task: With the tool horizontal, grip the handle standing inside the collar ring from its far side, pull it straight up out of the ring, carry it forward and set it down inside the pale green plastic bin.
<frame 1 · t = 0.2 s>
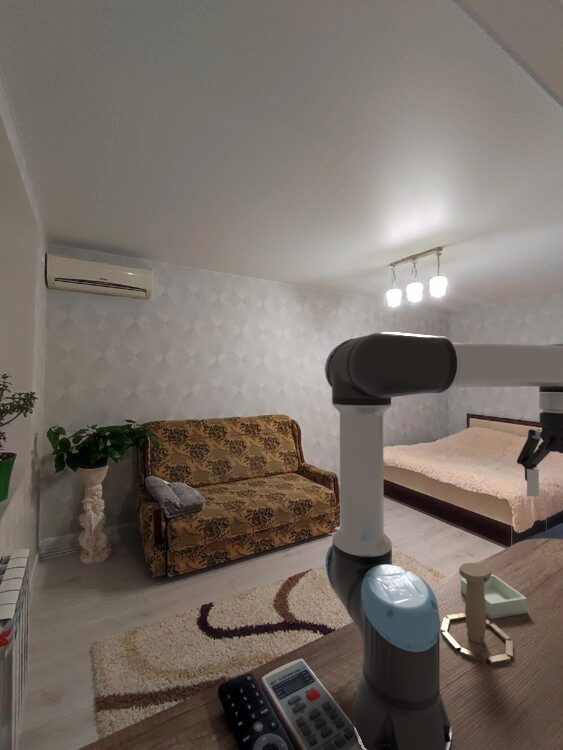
hand: (561, 505, 77), 27 cm above the table, tool pointing down, fingers open, 13 cm apart
collar ring: (475, 638, 73), on the table
handle: (475, 639, 73), resting in collar ring
bin: (492, 602, 85), on the table
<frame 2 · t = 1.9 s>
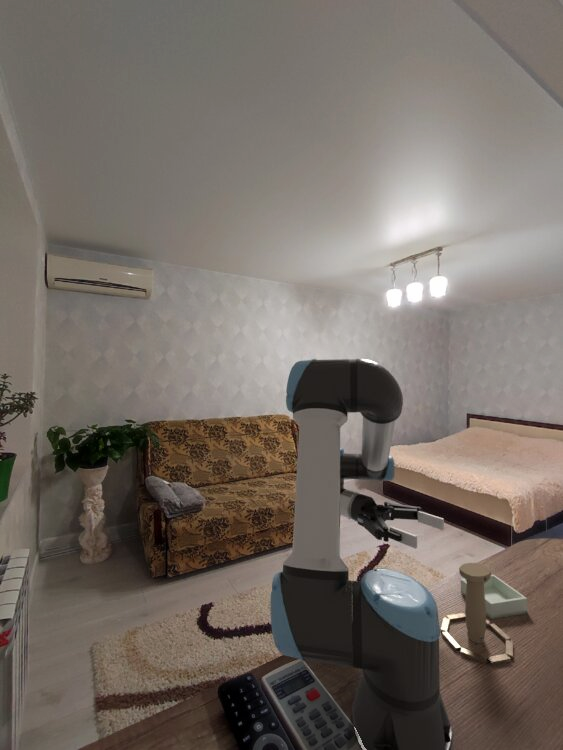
hand: (430, 532, 80), 20 cm above the table, tool horizontal, fingers open, 13 cm apart
nothing on the table moved.
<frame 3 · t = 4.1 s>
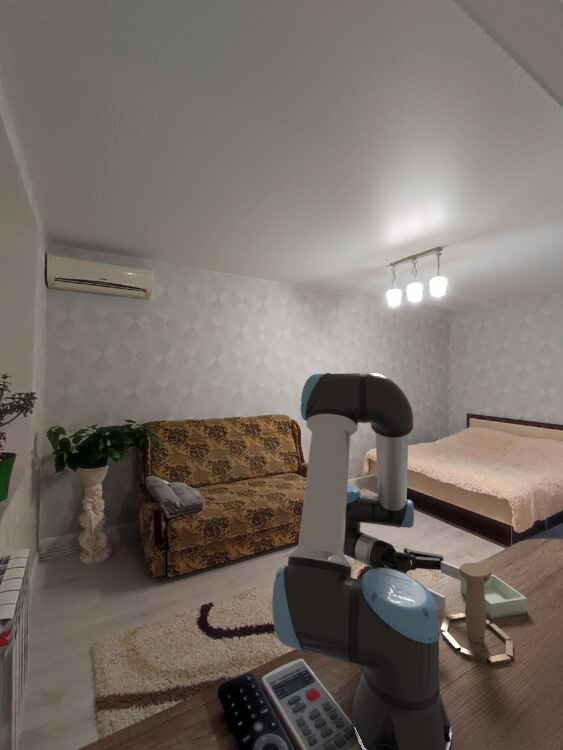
hand: (457, 589, 76), 8 cm above the table, tool horizontal, fingers open, 13 cm apart
nothing on the table moved.
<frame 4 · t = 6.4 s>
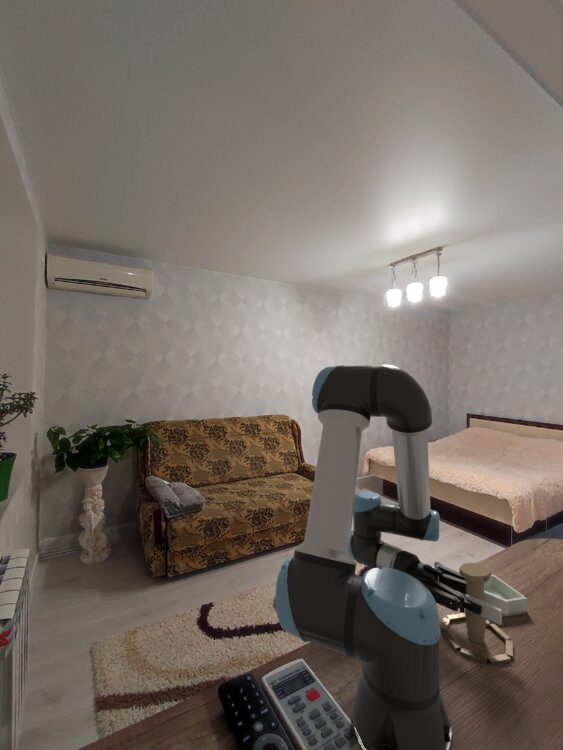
hand: (504, 612, 69), 9 cm above the table, tool horizontal, fingers closed on handle, 3 cm apart
handle: (475, 639, 73), resting in collar ring, touching gripper
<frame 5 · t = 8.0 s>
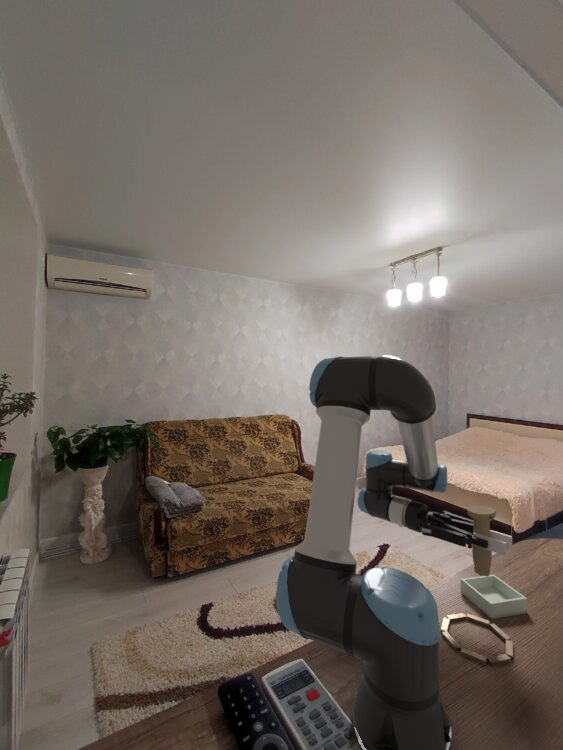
hand: (508, 545, 76), 19 cm above the table, tool horizontal, fingers closed on handle, 3 cm apart
handle: (482, 574, 80), point 10 cm above the table, touching gripper
when the fingers open (11 cm above the table, at t = 10.0 s): handle drops 2 cm, resting on bin.
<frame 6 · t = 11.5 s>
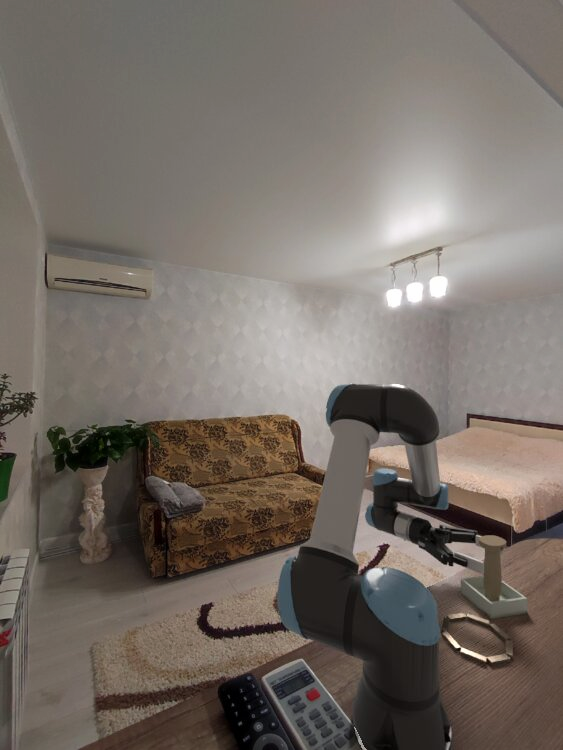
hand: (493, 558, 85), 11 cm above the table, tool horizontal, fingers open, 13 cm apart
handle: (492, 600, 85), resting on bin
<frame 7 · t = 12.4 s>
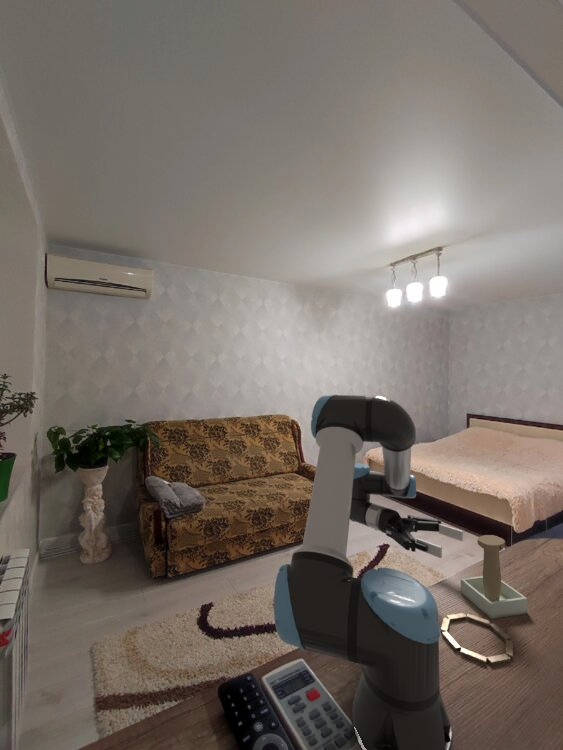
hand: (452, 544, 92), 11 cm above the table, tool horizontal, fingers open, 13 cm apart
nothing on the table moved.
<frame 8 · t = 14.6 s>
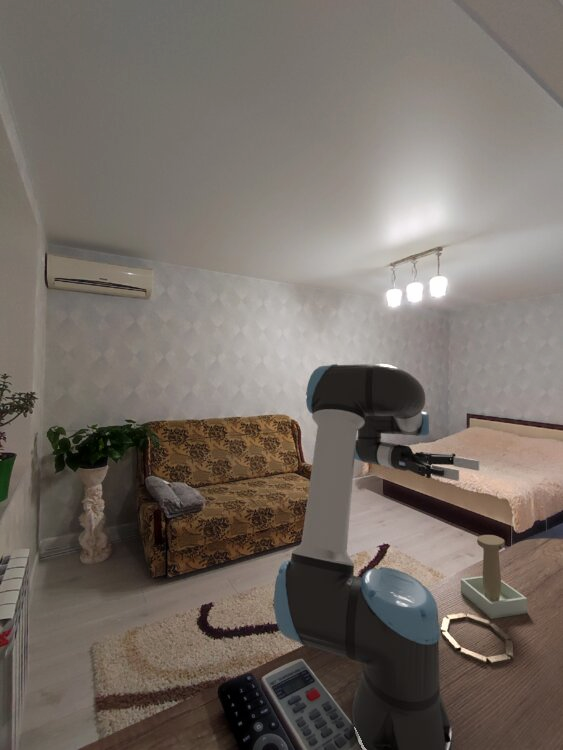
hand: (469, 470, 89), 32 cm above the table, tool horizontal, fingers open, 13 cm apart
nothing on the table moved.
at the end: handle inside the target area on the bin (0.1 cm from its centre), point 0.4 cm above the bin's base; handle tilted 1°; the gripper is holding nothing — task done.
